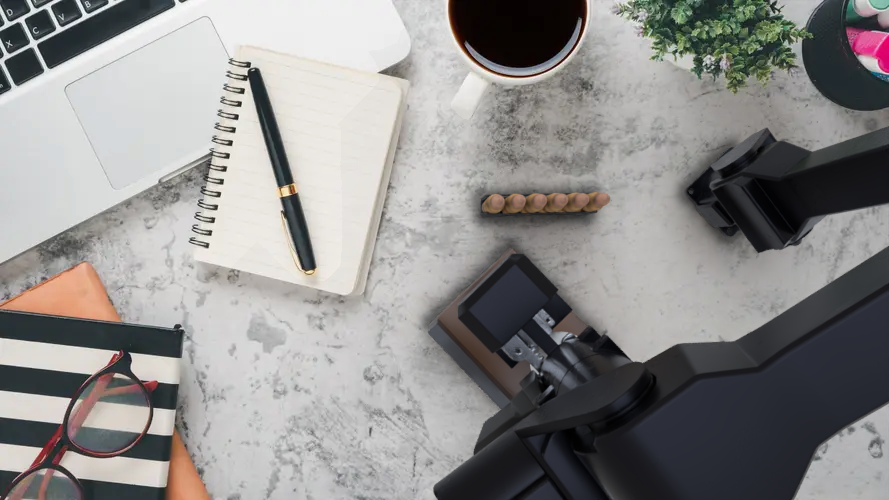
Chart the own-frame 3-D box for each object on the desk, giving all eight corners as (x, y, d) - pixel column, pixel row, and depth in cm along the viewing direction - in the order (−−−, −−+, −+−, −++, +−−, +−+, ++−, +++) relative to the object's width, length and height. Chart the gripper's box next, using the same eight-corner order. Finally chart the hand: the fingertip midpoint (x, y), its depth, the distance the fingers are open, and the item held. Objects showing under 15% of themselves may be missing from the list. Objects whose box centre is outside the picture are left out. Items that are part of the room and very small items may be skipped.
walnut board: (509, 247, 65) (516, 248, 59) (606, 349, 65) (623, 361, 59) (429, 323, 65) (427, 332, 59) (526, 424, 65) (534, 444, 59)
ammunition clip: (588, 196, 65) (619, 186, 53) (588, 214, 65) (619, 209, 53) (480, 198, 65) (487, 188, 53) (481, 216, 65) (488, 211, 53)
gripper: (391, 384, 37) (406, 343, 53) (618, 617, 38) (566, 508, 53) (531, 248, 37) (505, 247, 53) (757, 482, 37) (665, 412, 53)
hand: (558, 356), depth 53 cm, fingers closed on milkshake, 5 cm apart
